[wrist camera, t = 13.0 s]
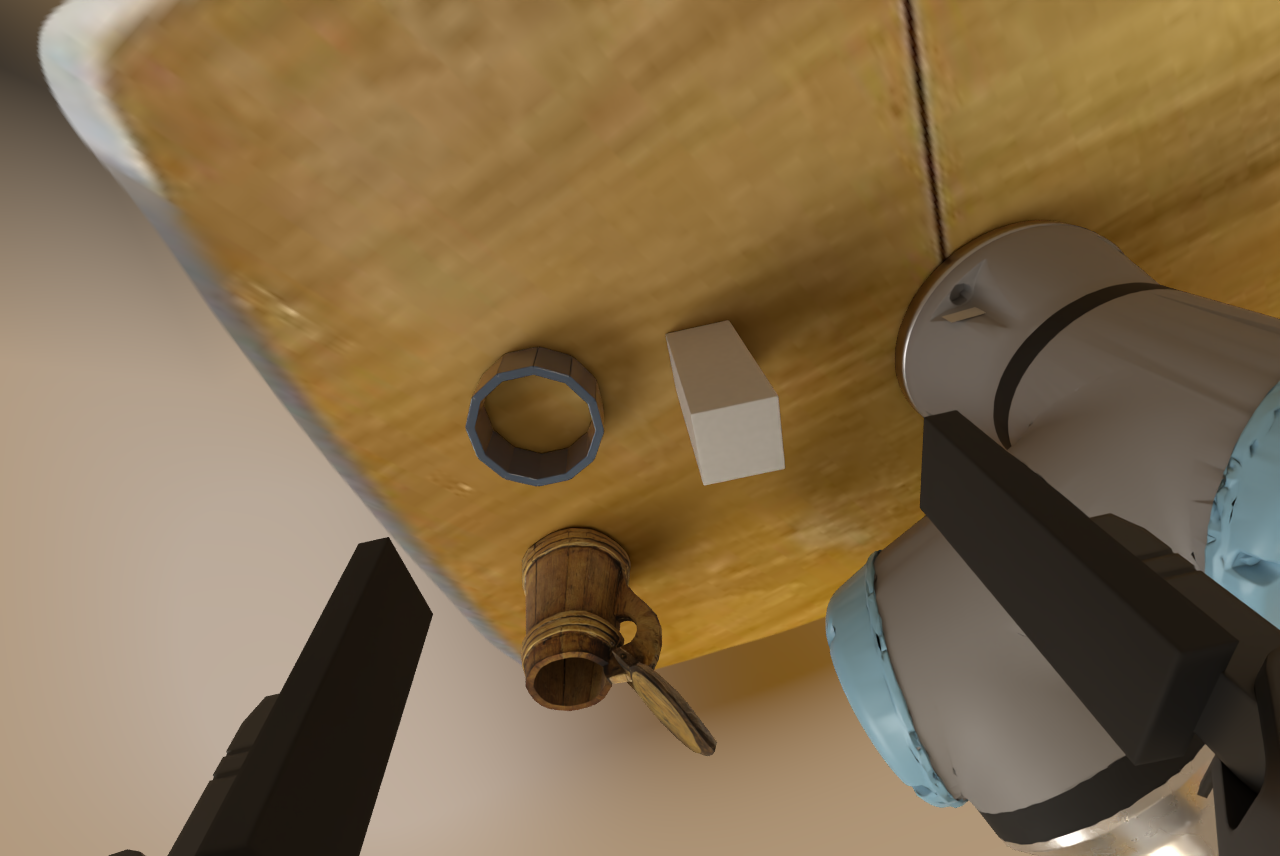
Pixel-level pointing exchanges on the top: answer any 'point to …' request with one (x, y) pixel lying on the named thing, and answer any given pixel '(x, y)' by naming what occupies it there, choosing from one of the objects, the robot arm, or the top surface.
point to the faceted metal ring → (524, 462)
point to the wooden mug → (594, 633)
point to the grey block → (725, 403)
